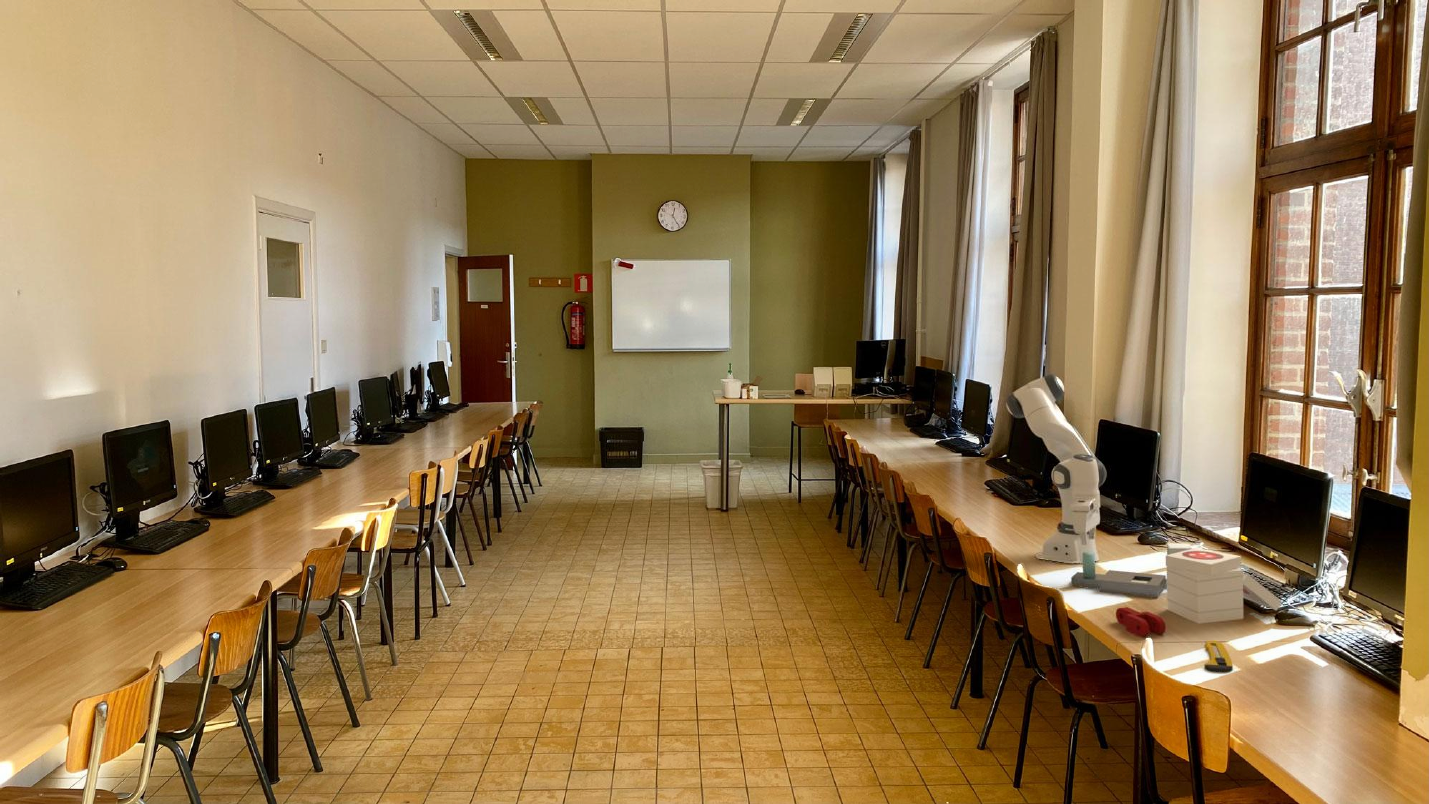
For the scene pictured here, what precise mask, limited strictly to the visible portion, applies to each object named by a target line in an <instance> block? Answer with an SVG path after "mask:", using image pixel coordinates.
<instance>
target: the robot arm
mask: <svg viewBox="0 0 1429 804" xmlns="http://www.w3.org/2000/svg"><path fill="white" fill-rule="evenodd" d="M1065 393H1066V392H1065V386H1064V383H1063V381H1062V380H1061V379H1060V378H1059V377H1058V376H1057V375H1056V374H1053V373H1050V374H1046V375H1044V376H1043V377H1040V378H1037V379H1034V380H1032V381H1030V382H1028V383H1027V384H1025V385H1023V386H1020V387H1019V388H1018V389H1016V390H1015V391H1012V392H1010V393H1009V394H1008V395H1007V396H1006V398H1005V405H1006V408H1007V411H1008V412H1009V413H1010V414H1011V415H1012V416H1013V417H1014V418H1017V419H1022V418H1025V420H1026V423H1027V425H1028V427H1029V428H1030V430H1031V432H1032V433H1033V434H1034V435H1035V436H1036V437H1038V438H1041V439H1042V441H1043V443H1044V445H1045V446H1046V448H1047V451H1048V452H1049V453H1051V454H1053V455H1054V456H1055V457H1056V459H1058V460H1059V463H1058V464H1056V466H1054V467H1053V469H1052V471H1051V480H1052V482H1053V484H1054V485H1055V486H1056V487H1057V489H1058V493H1059V496H1060V502H1061V511H1062V513H1061V514H1062V520H1059V522H1058V523H1057V525H1056V529H1057V531H1056V532H1055V533H1053V534H1052V535H1050V536H1049V537H1048V538H1047V539H1045V540H1044V541H1043V545H1042V550H1041V551H1039V552H1038V553H1037V554H1036V556H1037V557H1038V558H1044V559H1048V560H1052V561H1060V562H1065V563H1064V564H1066V563H1080V564H1083V554H1082V553H1084V552H1092V553H1095V561H1096V562H1098V561H1099V560H1100V558H1099V554H1098V551H1097V546H1096V531H1097V526H1098V525H1100V522H1101V514H1100V508H1101V496H1100V494H1101V493H1100V490H1099V488H1100V487H1102V485H1103V484H1104V483H1105V481H1106V479H1107V474H1108V472H1107V469H1106V467H1105V465H1104V464H1103V463H1102V461H1100V460H1099V459H1098V457H1096V455H1095V454H1094V452H1093V451H1092V449H1090V447H1089V446H1088V444H1087V443H1086V441H1085V440H1084V438H1083V437H1082V436H1081V434H1080V433H1079V431H1078V430H1077V429H1076V427H1075V426H1074V425H1072V423H1069V422H1068V420H1067V418H1066V417H1065V415H1064V414H1063V412H1062V410H1061V409H1060V408H1059V406H1058V405H1057V404H1056V402H1058V404H1059V405H1061V401H1062V399H1063V398H1064V396H1065ZM1052 561H1051V562H1052Z"/></svg>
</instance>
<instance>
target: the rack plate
mask: <svg viewBox="0 0 1429 804" xmlns="http://www.w3.org/2000/svg"><path fill="white" fill-rule="evenodd" d="M1095 575H1096V577H1094V578H1086V577H1083V571H1082V572H1080V571H1077V572H1076V573H1075V574H1074V575H1072V576H1071V578H1070V582H1071V587H1075V586H1082V587H1081V588H1084V587H1088V588H1087V589H1094V588H1096V590H1099V592H1101V593H1108V594H1109V593H1110V594H1118V595H1129V596H1138V597H1144V598H1145V597H1146V598H1154V599H1155V598H1156V599H1158V598H1159V597H1160V596H1161V595H1162V593H1164V590H1165V589H1167V574H1166V575H1165V574H1164V575H1163V574H1156V573H1155V574H1154V573H1145V572H1133V571H1122V570H1113V569H1112V570H1111V569H1110V570H1108V571H1107V572H1105V574H1100V573H1095ZM1097 588H1098V589H1097Z"/></svg>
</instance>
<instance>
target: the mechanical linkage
mask: <svg viewBox="0 0 1429 804" xmlns="http://www.w3.org/2000/svg"><path fill="white" fill-rule="evenodd" d="M1115 617H1116V621H1117V622H1118V624H1121V625H1122V626H1125V630H1126V631H1127V632H1129V633H1131V634H1133V635H1135V636H1138V637H1140V638H1144V637H1148V636H1149V635H1150V633H1152V634H1155V635H1163V634H1165V633H1166V630H1167V628H1166V623H1165V621H1164V619H1163V618H1162V616H1158V615H1156V614H1155V613H1151V612H1149V611H1138V610H1135V609H1132V608H1130V607H1129V606H1125V607H1119V608H1117V609H1116V611H1115Z"/></svg>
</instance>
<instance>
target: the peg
mask: <svg viewBox="0 0 1429 804" xmlns="http://www.w3.org/2000/svg"><path fill="white" fill-rule="evenodd" d="M1082 554H1083V563H1082V573H1083V577H1086V578H1094V577H1096V575H1095V574H1096V562H1095V553H1092V552H1084V553H1082Z"/></svg>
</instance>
